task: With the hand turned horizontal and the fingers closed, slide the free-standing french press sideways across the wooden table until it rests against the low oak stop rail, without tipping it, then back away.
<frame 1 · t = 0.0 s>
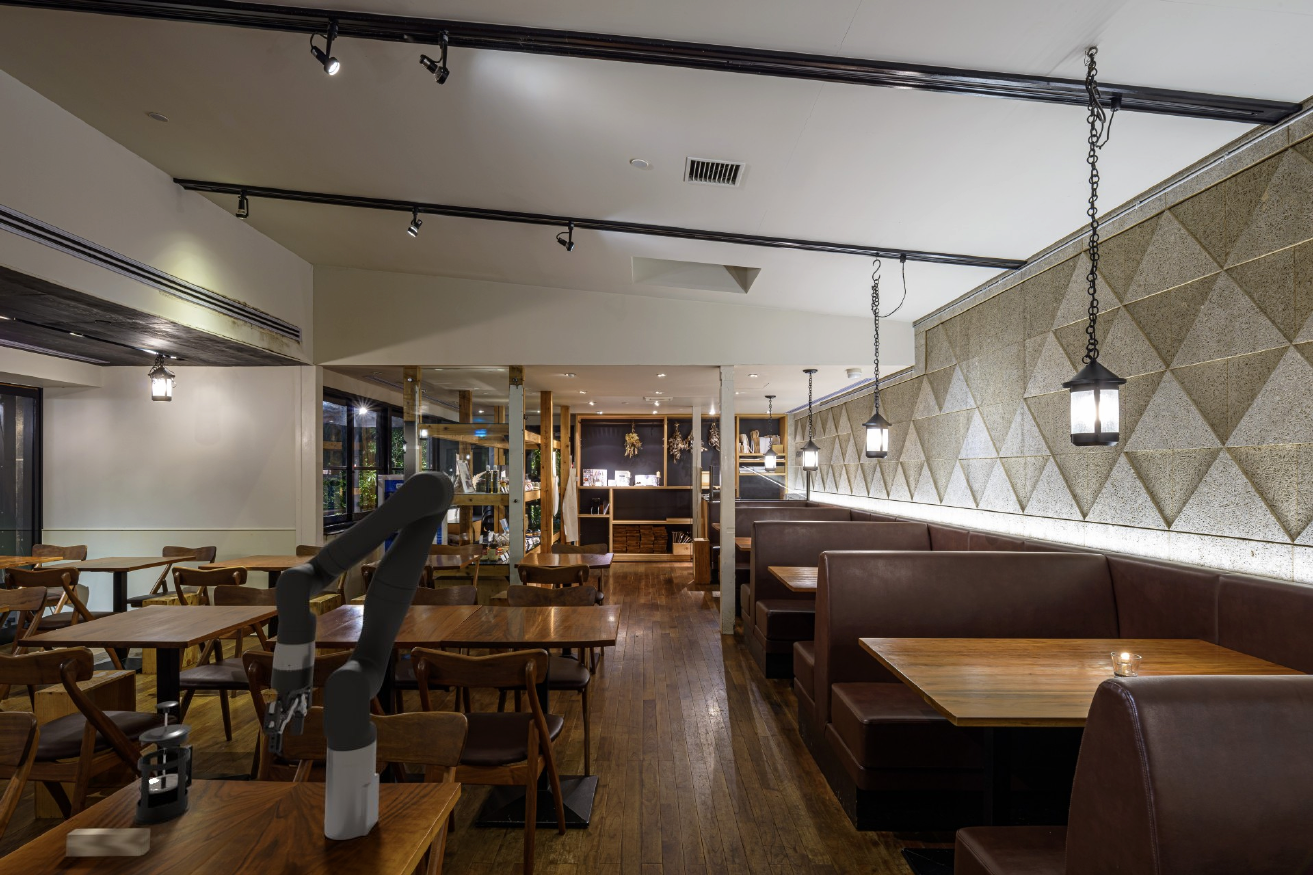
hand: (285, 742, 135), 17 cm above the table, tool pointing down, fingers open, 8 cm apart
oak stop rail: (108, 852, 126), on the table
french press: (164, 812, 141), on the table
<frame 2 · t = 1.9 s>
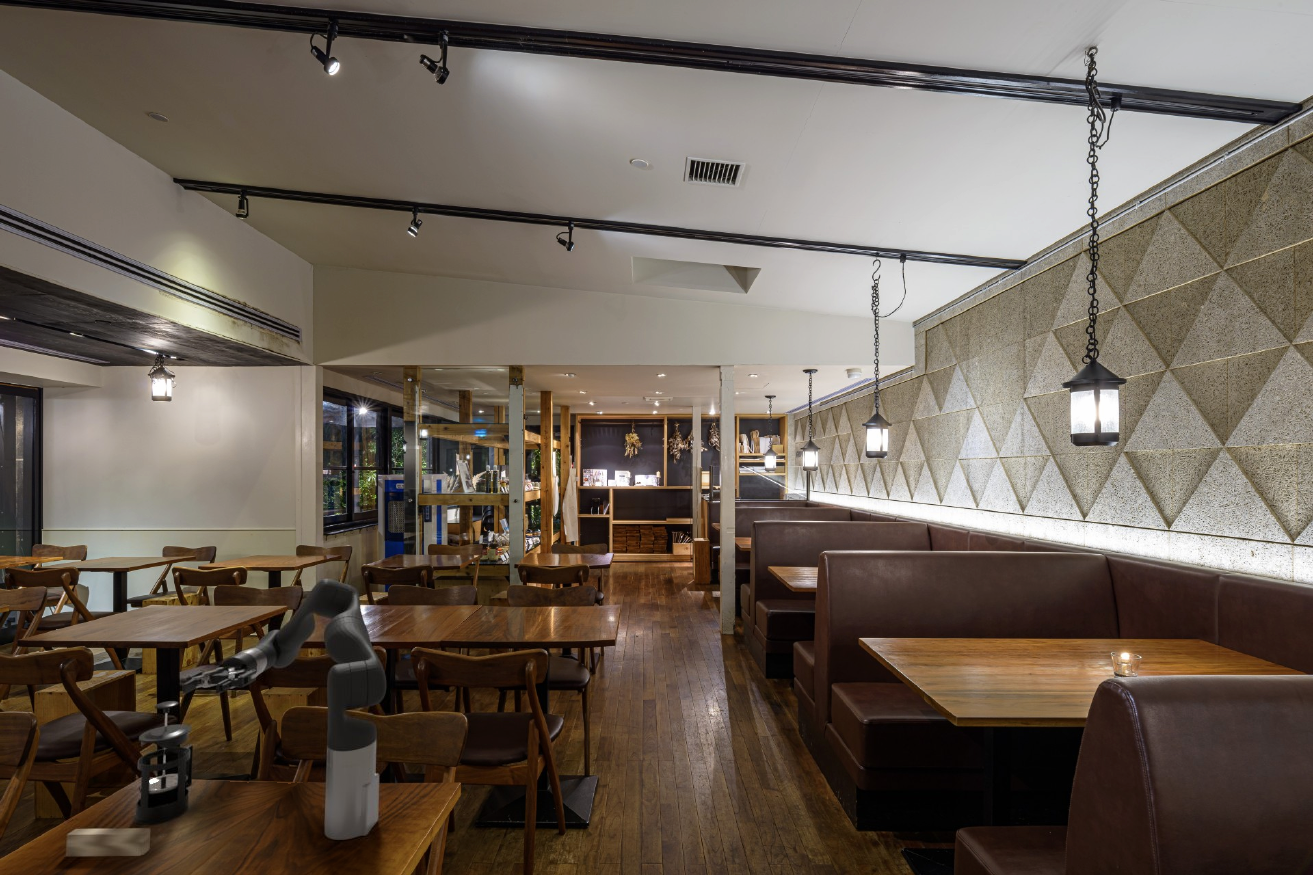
hand: (201, 688, 153), 22 cm above the table, tool horizontal, fingers open, 7 cm apart
nothing on the table moved.
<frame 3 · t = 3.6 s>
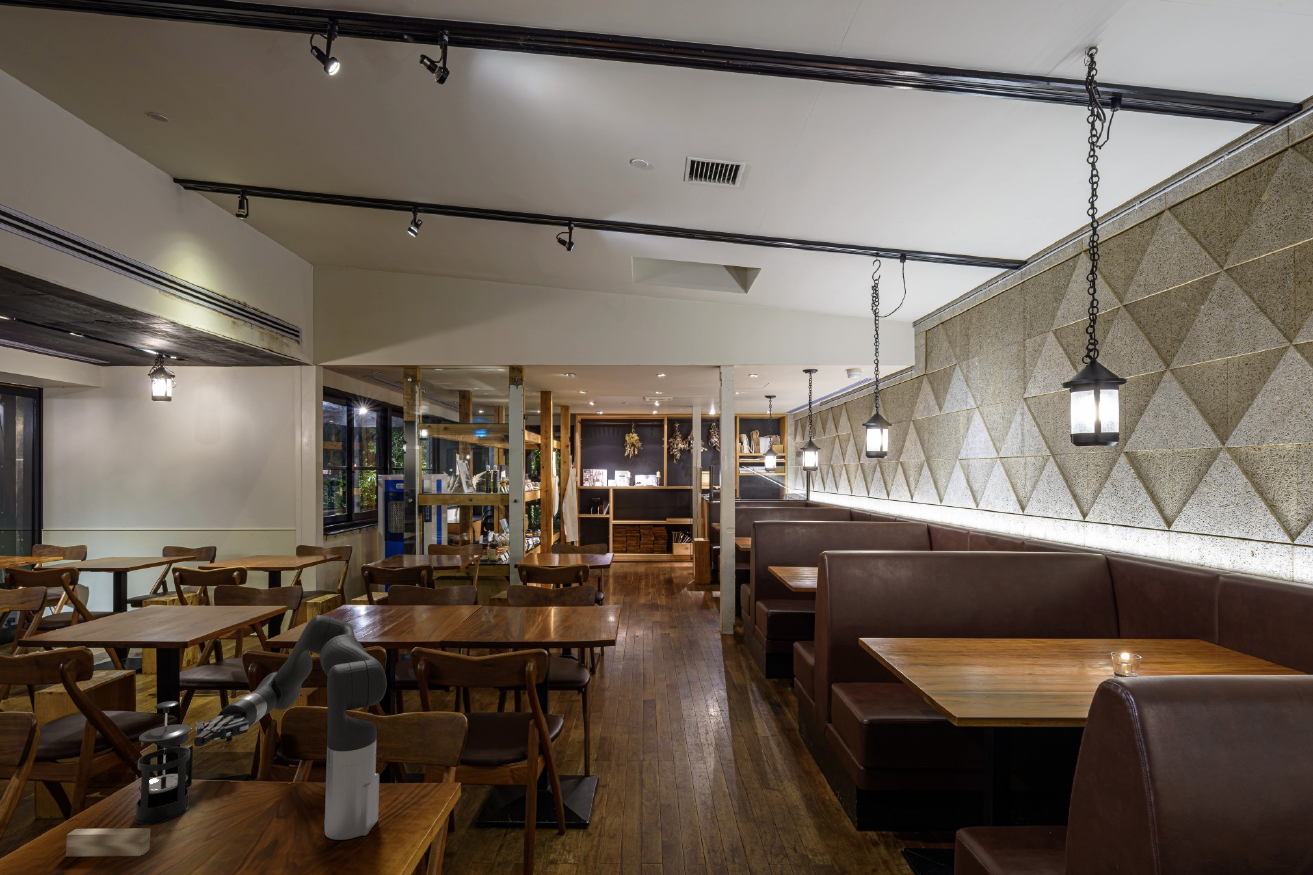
hand: (198, 742, 152), 10 cm above the table, tool horizontal, fingers closed
nothing on the table moved.
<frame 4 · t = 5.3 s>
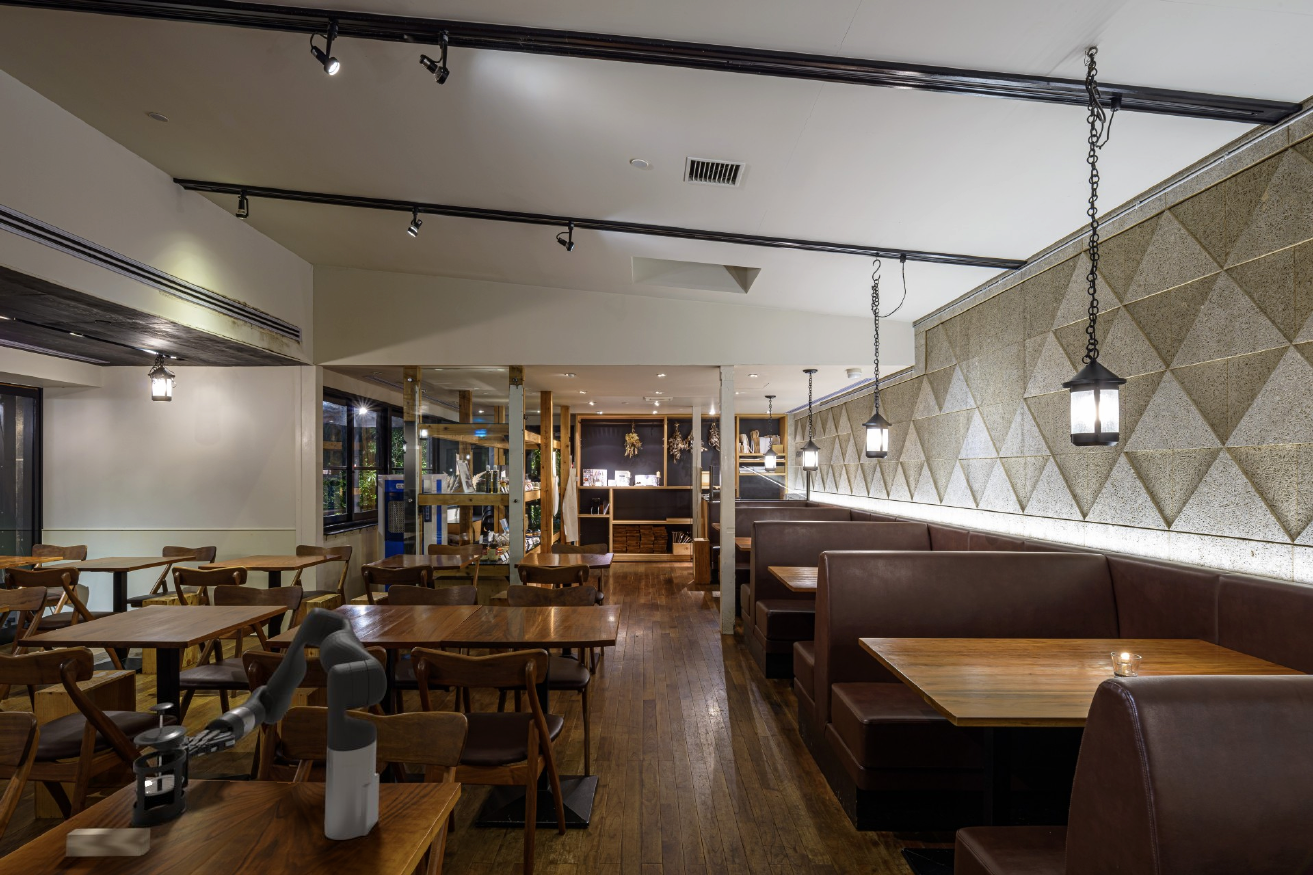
hand: (181, 757, 146), 9 cm above the table, tool horizontal, fingers closed
french press: (161, 814, 140), on the table, touching gripper
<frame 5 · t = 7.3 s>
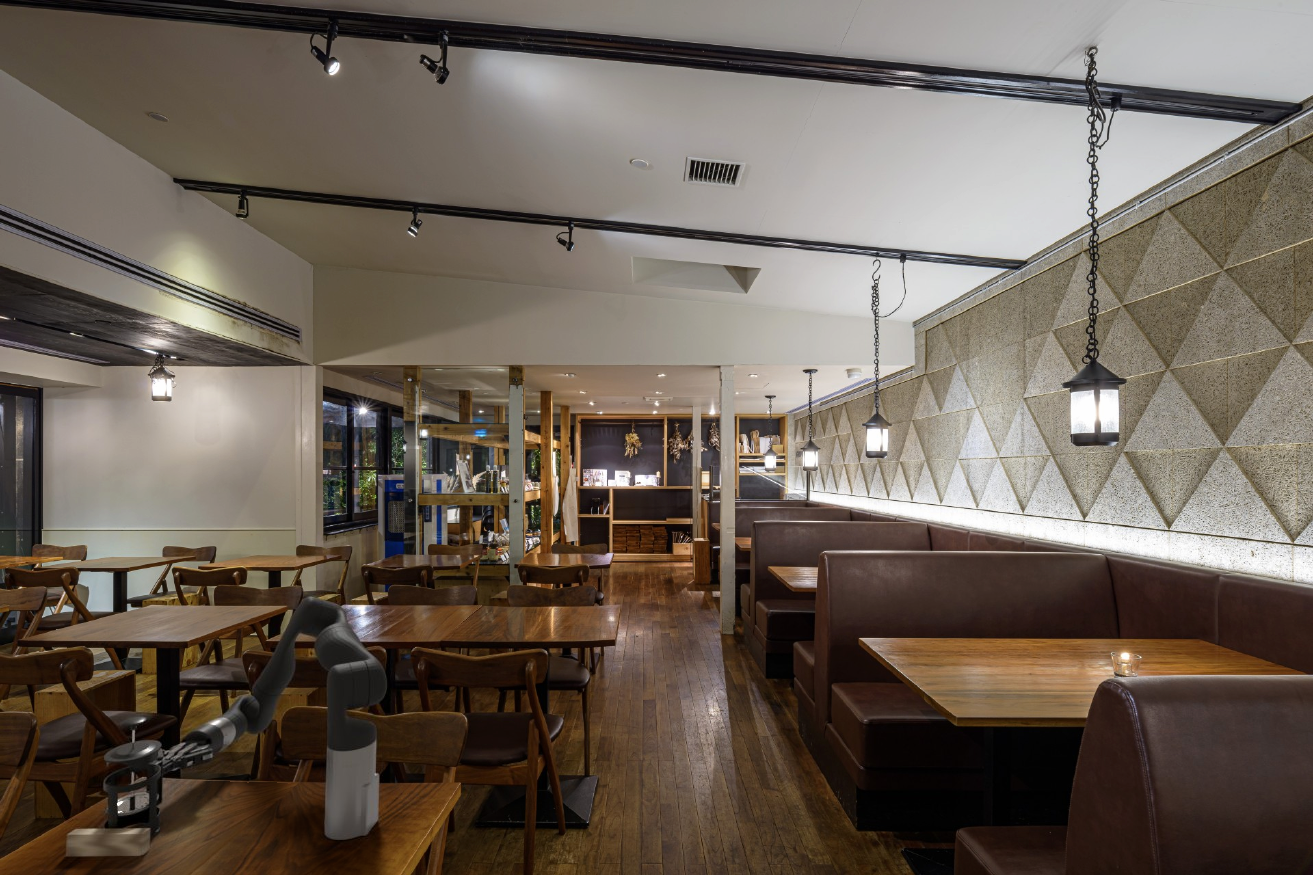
hand: (154, 772, 138), 10 cm above the table, tool horizontal, fingers closed
french press: (134, 834, 132), on the table, touching gripper
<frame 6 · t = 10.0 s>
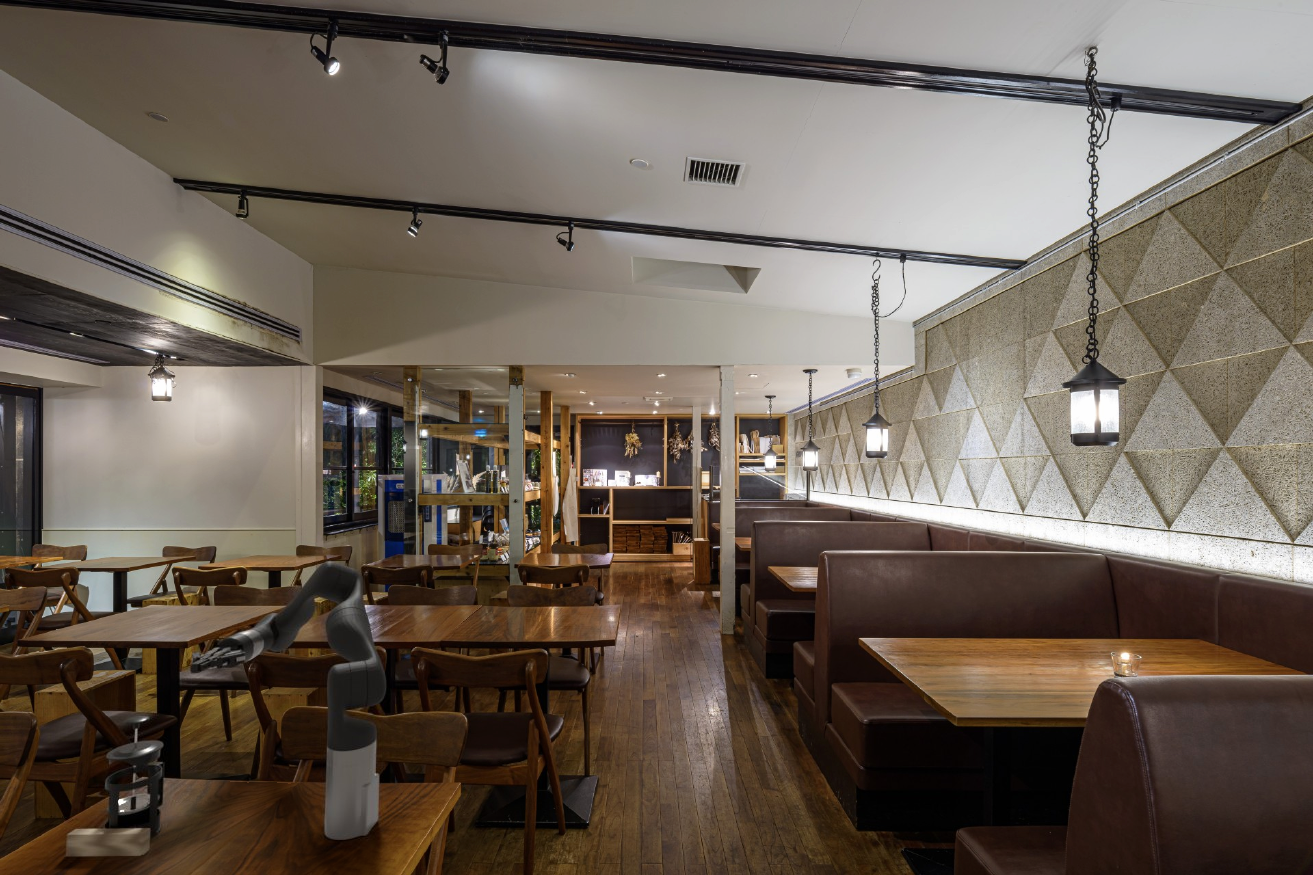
hand: (194, 668, 150), 28 cm above the table, tool horizontal, fingers closed
french press: (134, 835, 132), on the table
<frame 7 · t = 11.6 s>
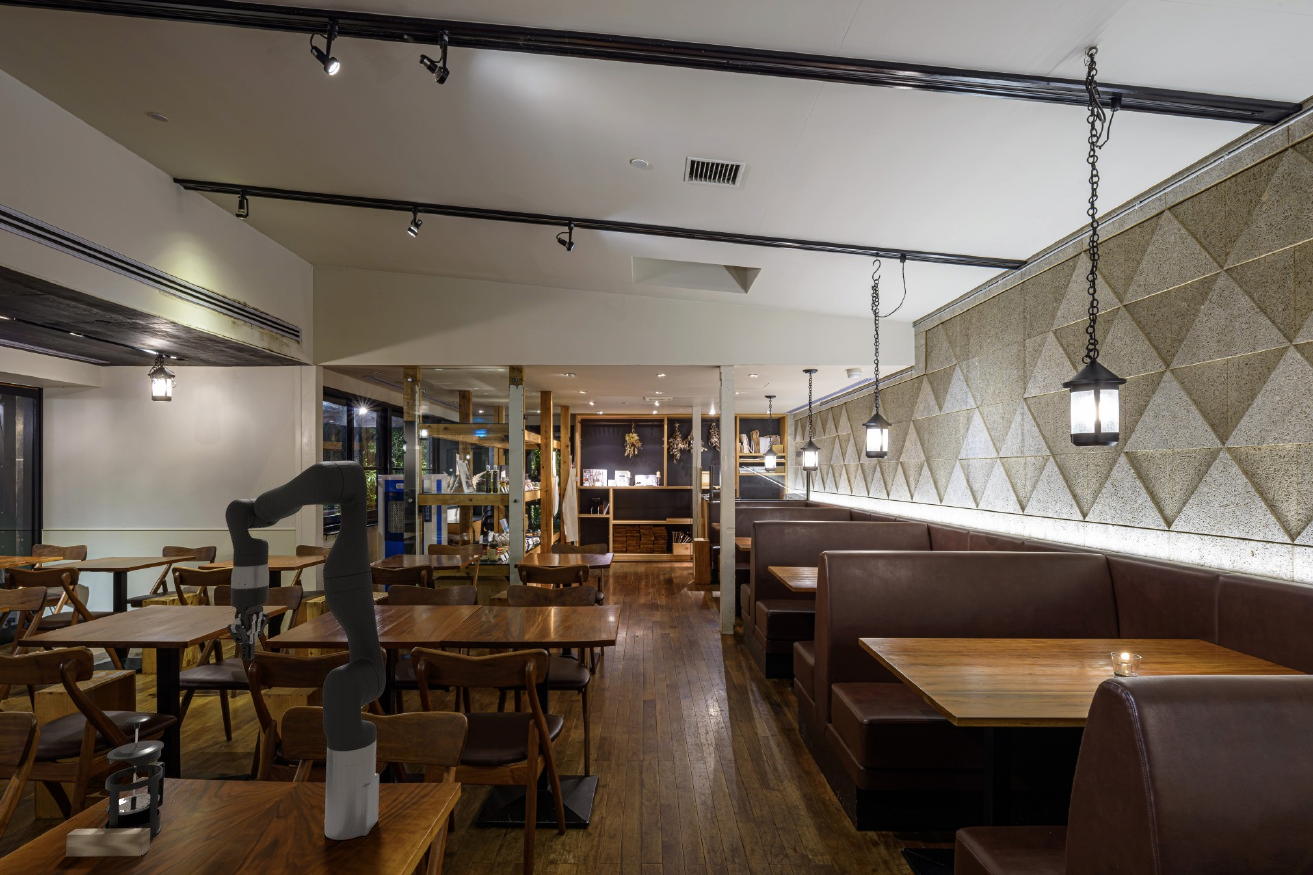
hand: (247, 659, 154), 29 cm above the table, tool pointing down, fingers closed
nothing on the table moved.
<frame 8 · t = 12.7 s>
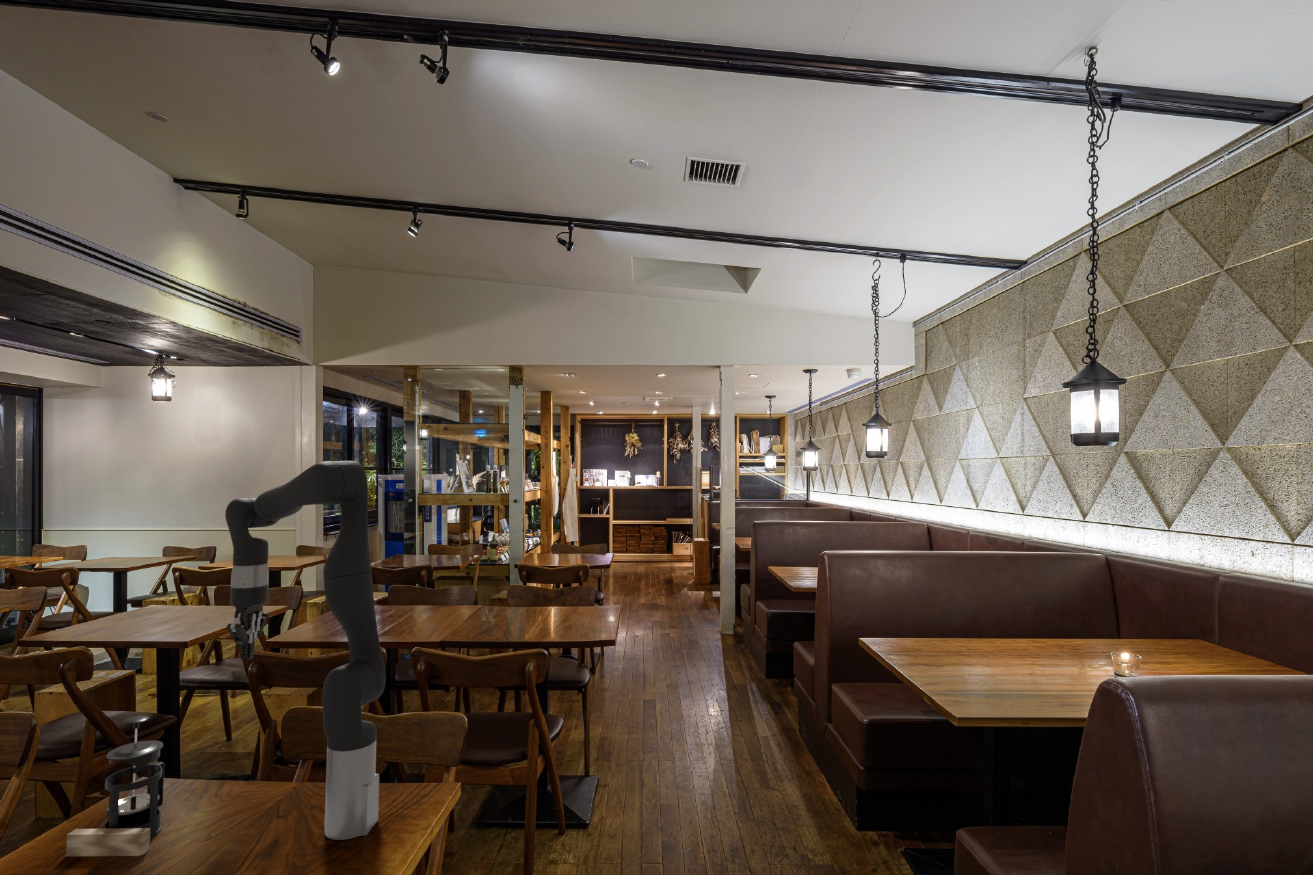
hand: (247, 658, 154), 29 cm above the table, tool pointing down, fingers closed
nothing on the table moved.
at the end: french press inside the target area (0.1 cm from its centre), on the table; french press moved 8.6 cm from its start; french press tilted 0° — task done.
